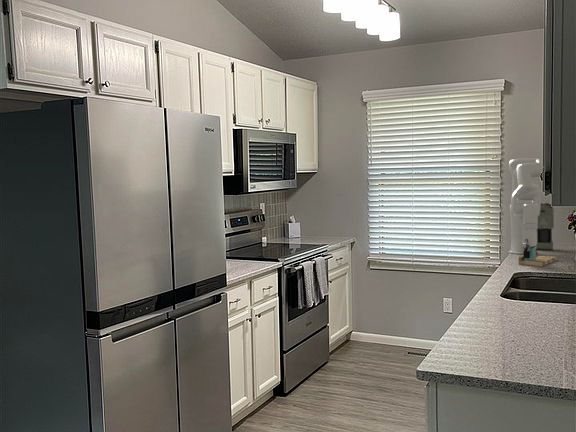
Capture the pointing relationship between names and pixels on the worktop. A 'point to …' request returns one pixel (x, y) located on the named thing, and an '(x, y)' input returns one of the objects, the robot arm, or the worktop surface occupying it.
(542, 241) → the device
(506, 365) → the worktop surface
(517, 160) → the robot arm
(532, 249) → the teal upright block
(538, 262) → the board
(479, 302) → the worktop surface
